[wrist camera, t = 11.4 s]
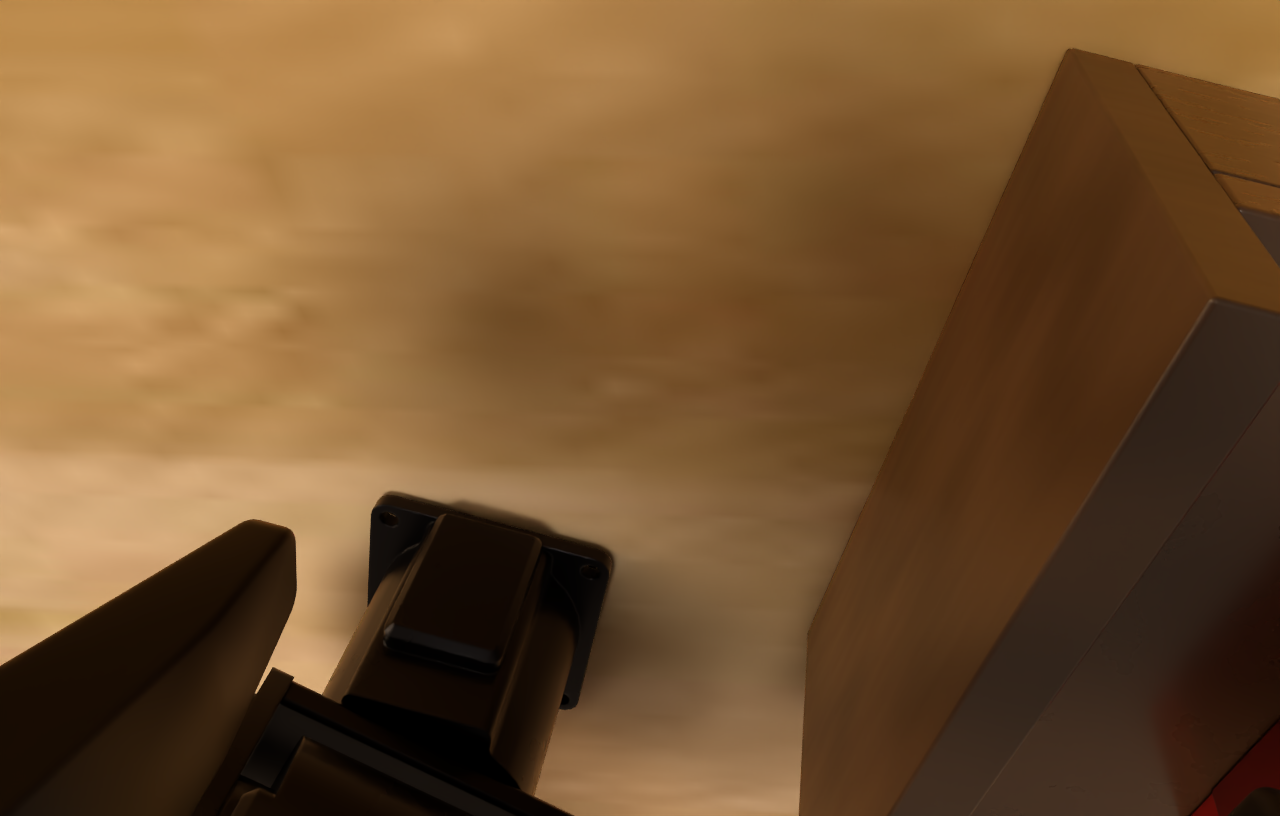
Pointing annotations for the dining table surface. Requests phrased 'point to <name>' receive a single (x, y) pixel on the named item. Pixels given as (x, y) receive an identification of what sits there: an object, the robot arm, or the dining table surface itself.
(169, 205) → the dining table surface
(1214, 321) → the shelf
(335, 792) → the robot arm
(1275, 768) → the red square bottle
